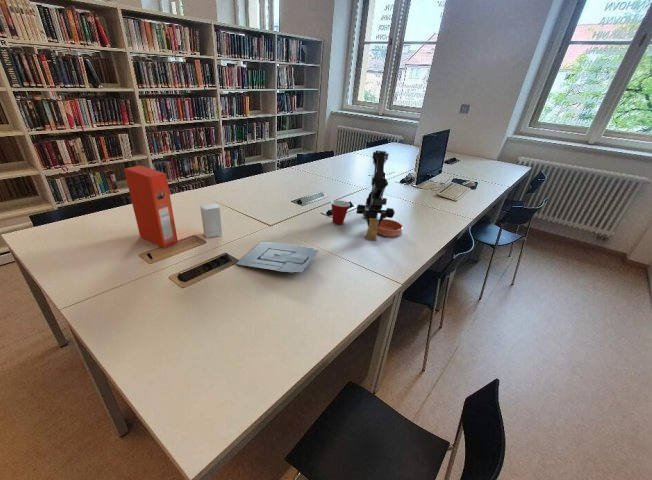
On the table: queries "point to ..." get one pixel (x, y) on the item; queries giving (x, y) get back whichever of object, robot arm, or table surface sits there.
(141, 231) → the file binder
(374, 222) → the ochre block
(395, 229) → the bowl
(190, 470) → the table surface
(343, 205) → the plastic cup
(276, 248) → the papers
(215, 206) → the cosmetic box
